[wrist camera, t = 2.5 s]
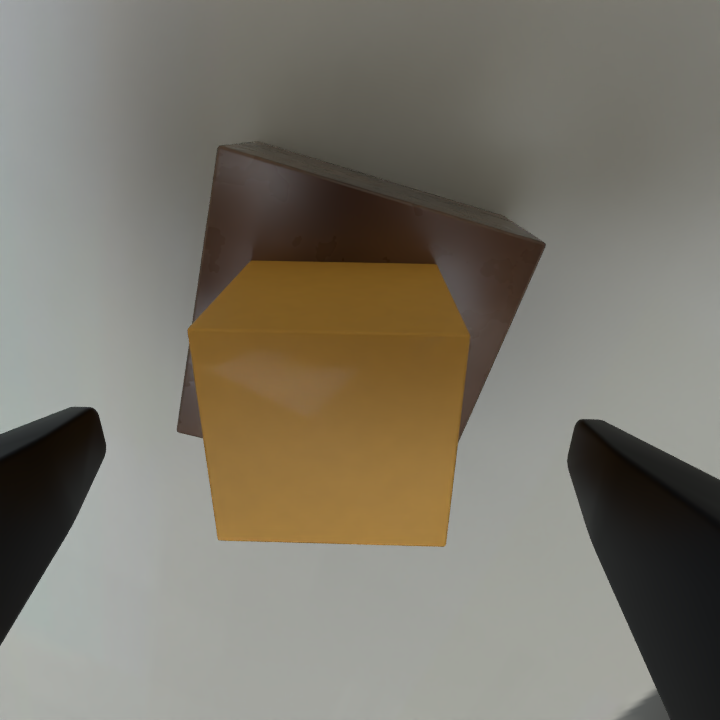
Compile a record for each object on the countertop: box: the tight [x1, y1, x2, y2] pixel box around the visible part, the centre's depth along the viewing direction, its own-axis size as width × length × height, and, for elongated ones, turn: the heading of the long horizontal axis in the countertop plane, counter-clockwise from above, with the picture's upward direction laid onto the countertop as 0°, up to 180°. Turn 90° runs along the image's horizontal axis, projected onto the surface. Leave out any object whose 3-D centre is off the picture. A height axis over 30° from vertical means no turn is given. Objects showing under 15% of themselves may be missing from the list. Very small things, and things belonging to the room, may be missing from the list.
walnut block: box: [177, 141, 546, 442], centre depth 15 cm, size 8×8×4 cm
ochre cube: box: [188, 261, 470, 547], centre depth 11 cm, size 5×5×5 cm
